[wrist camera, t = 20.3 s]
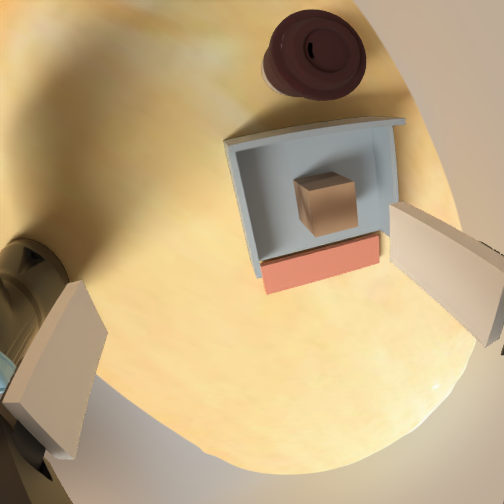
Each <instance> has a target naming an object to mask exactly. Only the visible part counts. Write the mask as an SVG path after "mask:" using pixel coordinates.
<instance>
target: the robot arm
mask: <svg viewBox="0 0 504 504" xmlns="http://www.w3.org/2000/svg"><path fill="white" fill-rule="evenodd" d="M389 212H390V262H391V263H393V264H394V265H395V266H396V267H397V268H399V269H400V270H401V271H402V272H403V273H404V274H406V275H407V276H408V277H409V278H410V279H411V280H413V281H414V282H415V283H416V284H417V285H418V286H420V287H421V288H422V289H423V290H424V291H425V292H426V293H427V294H429V295H430V296H431V297H432V298H433V299H434V300H435V301H436V302H437V303H439V304H440V305H441V306H442V307H443V308H444V309H445V310H446V311H447V312H448V313H450V314H451V315H452V316H453V317H454V318H455V319H456V320H457V321H458V322H459V323H460V324H461V325H462V326H463V327H464V328H465V329H467V330H468V331H469V332H470V333H471V334H472V335H473V336H474V337H475V338H476V339H477V340H478V341H479V342H480V343H481V344H482V345H483V346H484V347H487V346H488V345H490V344H492V343H493V342H495V341H496V340H498V339H499V338H500V335H501V332H502V329H503V326H504V255H503V254H501V255H500V253H499V252H498V251H496V250H493V249H492V248H491V247H490V246H487V245H486V244H484V243H483V242H480V241H477V240H475V239H474V238H472V237H470V236H468V235H467V234H465V233H463V232H461V231H460V230H458V229H456V228H454V227H452V226H451V225H449V224H447V223H445V222H443V221H441V220H439V219H438V218H436V217H434V216H432V215H430V214H428V213H426V212H424V211H422V210H420V209H418V208H416V207H414V206H412V205H410V204H408V203H406V202H404V201H402V202H397V203H393V204H389ZM107 334H108V331H107V330H106V328H105V326H104V324H103V322H102V320H101V318H100V316H99V314H98V312H97V310H96V308H95V306H94V304H93V302H92V300H91V297H90V295H89V293H88V291H87V289H86V287H85V285H84V282H83V280H79V281H75V282H72V283H69V280H68V276H67V274H66V271H65V269H64V267H63V265H62V264H61V262H60V261H59V259H58V258H57V257H56V256H55V254H54V253H53V252H52V251H50V250H49V249H48V248H47V247H45V246H44V245H42V244H41V243H39V242H36V241H34V240H30V239H18V240H15V241H13V242H11V243H9V244H8V245H7V246H6V247H5V248H3V249H2V250H1V251H0V394H1V393H3V392H4V393H3V395H2V397H1V400H0V504H73V503H72V501H71V500H70V498H69V497H68V495H67V493H66V492H65V490H64V488H63V487H62V485H61V483H60V481H59V479H58V478H57V476H56V474H55V472H54V470H53V468H52V467H51V465H50V463H49V462H48V461H47V459H46V458H44V453H45V449H46V450H47V451H49V452H50V453H51V454H52V455H53V456H54V457H55V458H56V459H67V460H68V459H69V460H75V457H76V452H77V447H78V442H79V438H80V433H81V428H82V424H83V420H84V416H85V411H86V408H87V404H88V400H89V396H90V392H91V388H92V384H93V381H94V377H95V374H96V370H97V367H98V363H99V360H100V357H101V353H102V350H103V347H104V344H105V340H106V337H107ZM501 355H504V346H503V348H502V351H501Z"/></svg>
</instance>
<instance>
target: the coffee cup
mask: <svg viewBox="0 0 504 504" xmlns="http://www.w3.org/2000/svg"><path fill="white" fill-rule="evenodd" d="M365 69H366V53H365V49H364V46H363V43H362V41H361V39H360V37H359V35H358V34H357V33H356V31H355V30H354V29H353V28H352V27H351V26H350V25H349V24H348V23H347V22H346V21H344V20H343V19H342V18H340V17H338V16H337V15H334V14H332V13H329V12H326V11H323V10H302V11H299V12H296V13H293V14H291V15H290V16H288V17H287V18H285V19H284V20H283V21H282V22H281V23H280V24H279V25H278V26H277V28H276V29H275V31H274V32H273V34H272V36H271V40H270V44H269V47H268V49H267V51H266V53H265V55H264V59H263V61H262V65H261V72H262V76H263V79H264V81H265V83H266V84H267V85H268V86H269V87H270V88H271V89H272V90H273V91H275V92H277V93H279V94H282V95H288V96H293V97H304V98H307V99H310V100H317V101H327V100H335V99H339V98H341V97H344V96H346V95H348V94H349V93H351V92H352V91H353V90H354V89H355V88H356V87H357V86H358V85H359V84H360V82H361V80H362V78H363V76H364V73H365Z"/></svg>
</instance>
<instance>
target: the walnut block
mask: <svg viewBox="0 0 504 504" xmlns="http://www.w3.org/2000/svg"><path fill="white" fill-rule="evenodd" d="M293 184H294V189H295V195H296V201H297V207H298V214H299V220H300V221H301V222H302V223H303V224H304V225H305V226H306V228H307V229H308V230H309V231H310V232H311V233H312V234H313V235H314V236H315V237H319V236H323V235H327V234H331V233H335V232H339V231H343V230H347V229H351V228H355V227H358V214H357V203H356V193H355V183H354V181H352V180H350V179H348V178H346V177H343V176H341V175H339V174H337V173H335V172H328V173H323V174H318V175H313V176H309V177H304V178H299V179H294V180H293Z"/></svg>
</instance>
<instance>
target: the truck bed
mask: <svg viewBox="0 0 504 504" xmlns="http://www.w3.org/2000/svg"><path fill="white" fill-rule="evenodd" d="M395 125H406V123H405V118H395V117H380V116H365V117H356V118H347V119H339V120H332V121H325V122H318V123H311V124H305V125H299V126H293V127H287V128H282V129H276V130H271V131H266V132H261V133H256V134H251V135H246V136H242V137H237V138H233V139H228V140H224V141H223V143H224V147H225V152H226V156H227V161H228V165H229V169H230V174H231V178H232V182H233V187H234V191H235V195H236V200H237V204H238V208H239V213H240V217H241V222H242V226H243V230H244V235H245V239H246V243H247V248H248V252H249V256H250V260H251V263H252V266H253V269H254V272H255V275H256V278H261V277H262V272H261V267H260V263H259V261H262V260H266V259H270V258H274V257H278V256H282V255H286V254H289V253H293V252H297V251H301V250H305V249H309V248H313V247H317V246H320V245H324V244H328V243H332V242H336V241H340V240H343V239H347V238H351V237H355V236H359V235H363V234H366V233H370V232H374V231H378V230H381V231H382V232H383V233H385V234H386V235H388V236H389V237H390V212H389V204H393V203H397V202H399V195H398V177H397V164H396V153H395V143H394V134H393V126H395ZM328 172H335V173H337V174H339V175H341V176H343V177H346V178H348V179H350V180H352V181H354V183H355V193H356V203H357V214H358V227H355V228H351V229H347V230H343V231H339V232H335V233H331V234H327V235H323V236H319V237H315V236H314V235H313V234H312V233H311V232H310V231H309V230H308V229H307V228H306V226H305V225H304V224H303V223H302V222H301V221H300V220H299V214H298V207H297V201H296V195H295V189H294V184H293V180H294V179H299V178H304V177H309V176H313V175H318V174H323V173H328Z"/></svg>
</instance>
